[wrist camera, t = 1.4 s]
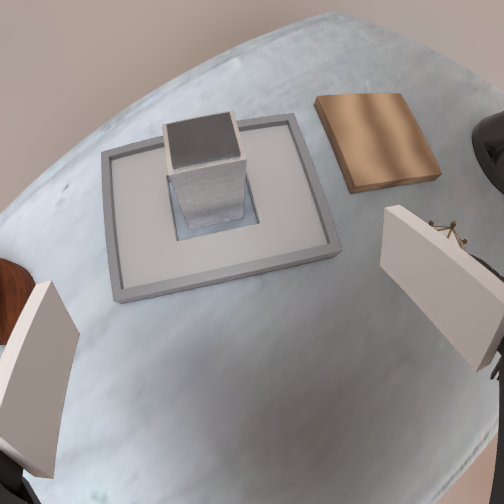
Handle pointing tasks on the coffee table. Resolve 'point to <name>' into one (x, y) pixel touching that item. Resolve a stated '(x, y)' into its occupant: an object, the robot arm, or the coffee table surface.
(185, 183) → the block
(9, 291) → the music box
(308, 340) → the coffee table surface
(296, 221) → the grey flat frame
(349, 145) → the board
